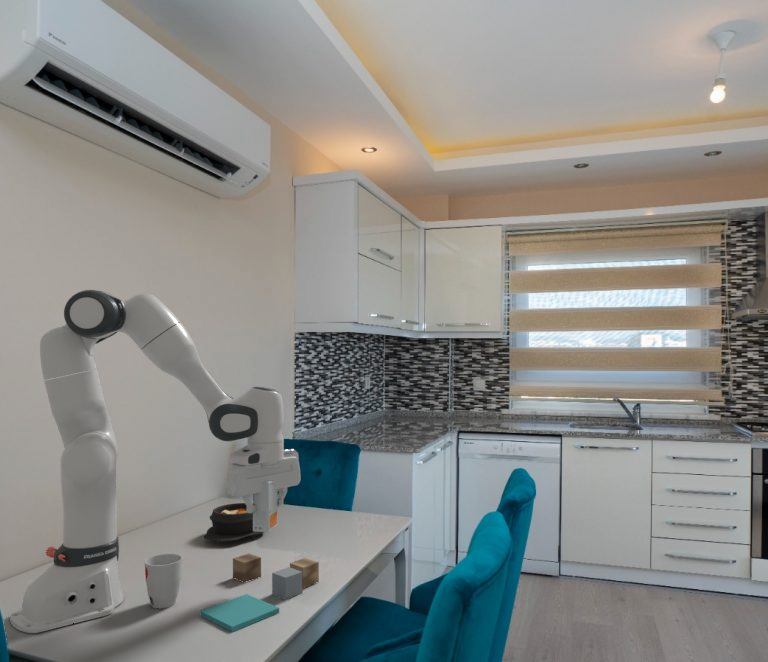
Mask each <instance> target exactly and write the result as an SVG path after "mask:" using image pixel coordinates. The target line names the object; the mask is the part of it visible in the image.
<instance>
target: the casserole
mask: <svg viewBox="0 0 768 662" xmlns="http://www.w3.org/2000/svg"><path fill="white" fill-rule="evenodd" d="M211 512H212V513H211V514H210V516H209V520H210V521H211V524H212V525H211V527H209V528H208V529H207V530H206V534H205V535H203V539H204V540H206V541H211V542H219V543H221V542H235V541H240V539H241V540H246V539H249V538H253V537H254V536H257V535H260V534H262V533H263V532H256V531H253V513H247V505H246V504H245V502H240V503H239V502H238V503H237V502H235V503H230V504H223V505H220V506H217V507H215V508H214V509H213V510H212V511H211Z"/></svg>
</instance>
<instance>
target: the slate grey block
mask: <svg viewBox="0 0 768 662" xmlns="http://www.w3.org/2000/svg"><path fill="white" fill-rule="evenodd" d="M271 582H272V585H271V586H272V587H271V589H272V591H271V592H272V595H273V596H276V597H279V598H281V599H283V600H288V599H291V598H293V596H294V597H295V596H298V594H299V595H301V594H303V588H302V572H301V571H298V570H296V569H293V568H290V566H288V567H285V568H283V569H279V570H277V571H273V572H272V573H271ZM300 593H301V594H300Z"/></svg>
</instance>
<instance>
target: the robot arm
mask: <svg viewBox="0 0 768 662" xmlns="http://www.w3.org/2000/svg"><path fill="white" fill-rule="evenodd" d="M63 318H64V321H65V323H66V324H64V325H63V326H59V327H55V328H53V329H51V330H49V331H47V332H46V333H45V334H43V335H42V336H41V338H40V341H39V355H40V356H39V357H40V365H41V373H42V377H43V382H44V385H45V389H46V394H47V398H48V402H49V405H50V409H51V414H52V416H53V419H54V421H55V423H56V426H57V429H58V431H59V435H60V438H61V441H62V444H63V447H64V449H63V452H62V454H61V456H60V480H61V481H60V483H61V484H60V485H61V497H62V508H63V509H62V511H63V512H62V513H63V514H62V516H63V517H62V520H63V521H62V522H63V523H62V526H63V527H62V531H63V532H62V535H63V536H62V544H61V545H60V546H59V547H58V548H55V547H54V546H50V547H47V549H46V550H45V552H44V553H45V555H46V556H47V557H49V558H52V559H53V563H52V565H51V566H49V567H48V569H46V570H45V571H44V572H43V573H41V574H40V575H39V576H38V577H37V578H36V579H35V580H34V581H33V582H31V584H29V585H28V586H27V588H26V589H25V591H24V594H23V595H24V596H23V600H22V607H21V608H18V609H15V610H13V611H12V612H11V614H10V618H9V623H10V625H12V627H13V628H15V630H18V631H21V632H22V633H29V634H37V633H42V632H46V631H50V630H54V629H59V628H62V627H66V626H69V625H73V623H74V624H77V623H83V622H85V621H90V620H93V619H97V618H98V619H99V618H100V617H106V616H109V615H111V614H112V613H113V611H114V610H115V608H116V607H118V606H119V605H120V604H122V603H123V601H124V598H125V595H124V592H123V590H122V585H121V582H120V576H119V568H118V567H119V564H118V561H119V555H120V544H119V537H118V536H117V531H118V528H117V526H118V524H117V521H118V520H117V518H118V517H117V515H118V513H117V512H118V511H117V509H118V505H117V504H118V502H117V459H118V454H119V447H118V443H117V442H118V441H117V439H116V434H115V431H114V428H113V424H112V421H111V418H110V414H109V411H108V408H107V404H106V401H105V397H104V392H103V387H102V384H101V380H100V376H99V372H98V369H97V363H96V360H95V359H96V358H95V354H94V351H95V350H94V348H95V345H97V344H99V343H101V342H103V341H104V340H106V339H108V338H111V337H112V336H114V335H115V334H117V333H118V332H119V333H123V334H125V335H126V336H128V337H129V338H130V339H132V341H133V342H134V343H135V344H136V346H137V347H138V349H140V351H141V352H142V353H143V354H144V356H145V357H146V358H147V359H148V360H149V361H150V362H151V363H152V364H154V365H155V366H156V367H157V368H158V369H160V370H161V371H162V372H164V373H167V374H168V375H170V376H172V377H173V378H176V379H177V380H178V381H180V382H181V383H182V384H183V385H184V386H185V387H186V388H187V389H188V390H189V391H190V392H191V394H192V395H193V396H194V398H195V399H196V400H197V401H198V402H199V404H200V405H201V406H202V408H203V410H204V411H205V413H206V417H207V423H208V427H209V430H210V432H211V433H212V435H213V436H214V437H215V438H216V439H218V440H219V441H222V442H228V443H229V442H235V441H238V440H241V439H243V440H244V439H247V445H245V446H242V448H240V449H237V450H236V451H234V452H233V453H231V454H229V457H228V458H229V459H228V461H229V462H230V463H231V465H229V467H228V470H227V477H226V493H227V494H228V495H229V496H230V497H233V498H242V500H243V503H245V504H246V505H247V513H254V512H256V505H253V501H252V500H253V494H257V493H261V492H262V483H263V482H265V481H271V480H273V481H274V490H276V489H278V508H279V507H282V506H283V507H284V499H285V497H286V495H287V493H288V488H290V487H294V486H298V485H299V484H300V482H301V480H302V479H301V467H300V461H299V452H298V451H297V450H295V449H294V448H289V449H285V448H284V447H285V445H284V443H285V441H284V440H285V439H284V435H283V427H284V424H285V423H284V421H285V415H284V412H285V411H284V401H283V397H282V394H281V393H280V392H279V391H277V390H276V389H273V388H269V387H263V386H253V387H251V388H249V390H247V391H246V392H244V393H242V394H240V395H238V396H236V397H232V396H229V394H227V393H225V391H224V390H223V389H222V388H221V387H220V386H219V385H218V383H217V382H216V381H215V379H214V378H213V377H212V376H211V375H210V373H209V372H208V371H207V369H206V368H205V366H204V364H203V363H202V360H201V357H200V355H199V351H198V348H197V347H196V343H195V342H194V340H193V339H192V337H191V335H190V333H189V331H188V330H187V328H186V327H185V325H183V323H182V322H181V321H180V320H179V319H178V317H177V316H176V315H175V314H174V313H173V312H172V310H170V308H169V307H167V306H166V304H164V303H163V302H162V301H161V300H160V299H159V298H158V297H156V296H155V295H153V294H152V293H151V294H150V293H145V292H144V293H140V294H139V293H138V294H136V295H134V296H132V297H130V298H129V299H126V300H124V301H123V300H121V299H120V298H117V297H115V296H114V295H112V294H111V293H109V292H106V291H102V290H95V289H86V290H82V291H78V292H77V293H75V294H73V295H72V296H71V297H70V298H69V299H68V300H67V301H66V304H65V305H64V309H63Z"/></svg>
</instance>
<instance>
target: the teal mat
mask: <svg viewBox="0 0 768 662" xmlns="http://www.w3.org/2000/svg"><path fill="white" fill-rule="evenodd" d="M199 613H200V615H199V616H200V617H203V618H204V619H205V620H208V621H210V622H212V623H214V624H216V625H217V626H220V627H222V628H225V629H226V630H227V631H229V632H232V633H233V632H236V631H238V630H241V629H243V628H245V627H248V626H250V625H252V624H255V623H257V622H259V621H262V620H265V619H267V618H269V617H272V616H275V615H277V614H279V613H280V607H278V606H276V605H273V604H271V603H269V602H266V601H264V600H262V599H259V598H257V597H254V596H252V595H250V594H248V593H246V594H242V595H240V596H238V597H237V596H236V597H235V598H232V599H229V600H226V601H223V602H221V603H218V604H215V605H213V606H210V607H207V608H205V609H202V610H200V612H199Z"/></svg>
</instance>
